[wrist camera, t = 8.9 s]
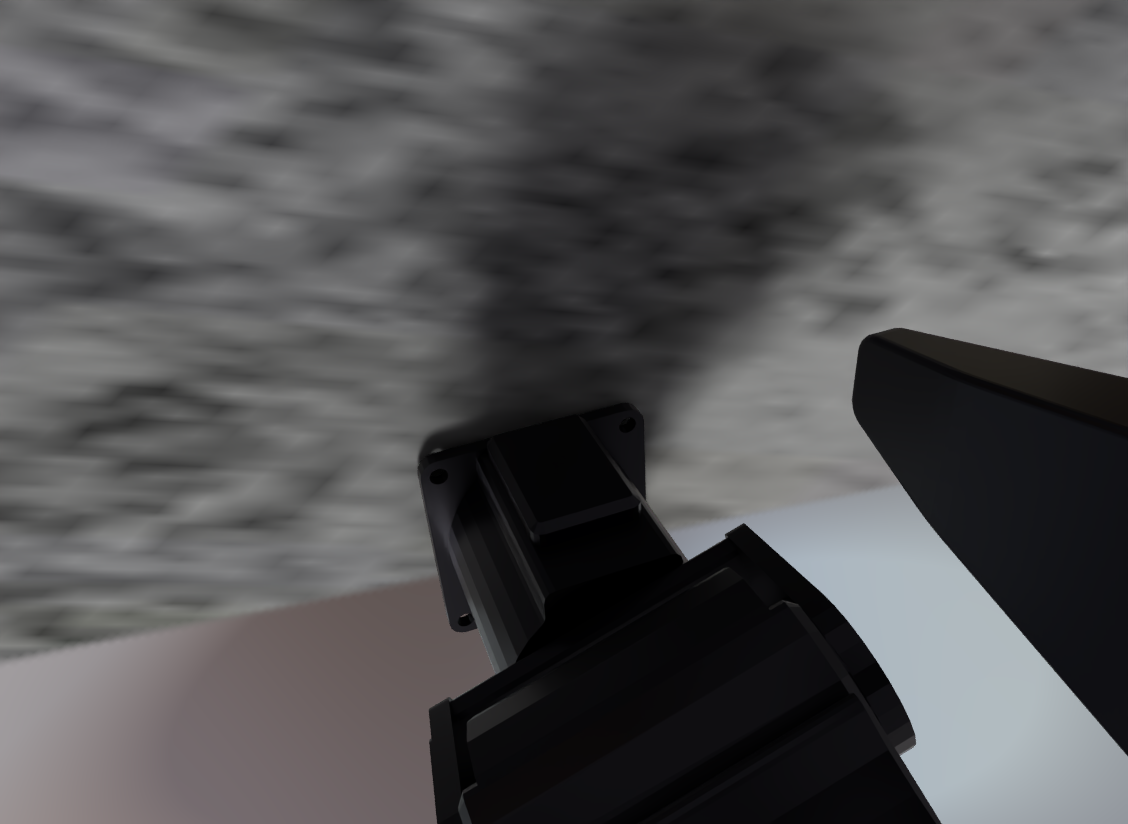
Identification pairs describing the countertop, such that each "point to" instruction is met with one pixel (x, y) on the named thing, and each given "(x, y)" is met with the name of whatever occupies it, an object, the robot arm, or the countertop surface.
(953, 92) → the countertop surface
